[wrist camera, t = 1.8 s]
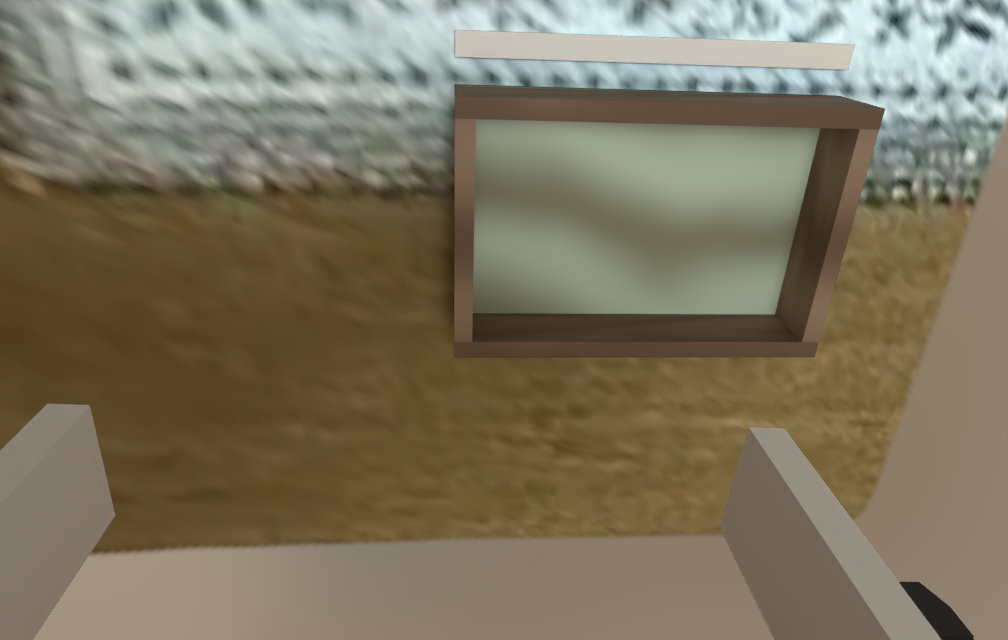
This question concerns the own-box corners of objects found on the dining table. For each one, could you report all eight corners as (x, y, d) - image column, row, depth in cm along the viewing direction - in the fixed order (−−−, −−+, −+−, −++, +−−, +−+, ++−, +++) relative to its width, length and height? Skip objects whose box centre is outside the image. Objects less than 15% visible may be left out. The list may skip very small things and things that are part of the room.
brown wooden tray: (454, 84, 28) (455, 96, 25) (838, 95, 29) (885, 108, 26) (454, 322, 33) (454, 357, 30) (781, 323, 34) (814, 357, 31)
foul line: (455, 29, 27) (455, 29, 27) (851, 44, 28) (854, 44, 28) (455, 56, 27) (455, 56, 27) (845, 69, 28) (848, 69, 28)
